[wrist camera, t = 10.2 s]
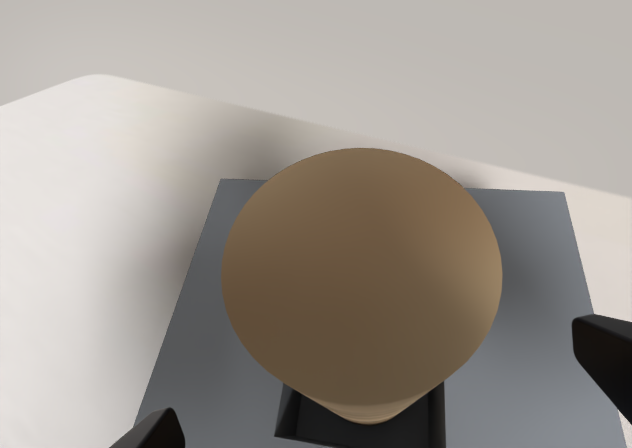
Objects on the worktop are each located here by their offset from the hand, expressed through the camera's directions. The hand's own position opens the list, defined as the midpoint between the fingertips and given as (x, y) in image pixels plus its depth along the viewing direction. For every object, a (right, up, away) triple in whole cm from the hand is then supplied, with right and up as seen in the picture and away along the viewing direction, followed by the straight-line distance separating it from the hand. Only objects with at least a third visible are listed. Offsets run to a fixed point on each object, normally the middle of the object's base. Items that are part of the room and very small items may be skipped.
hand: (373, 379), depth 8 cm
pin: (+1, -4, +8) cm, 9 cm away
